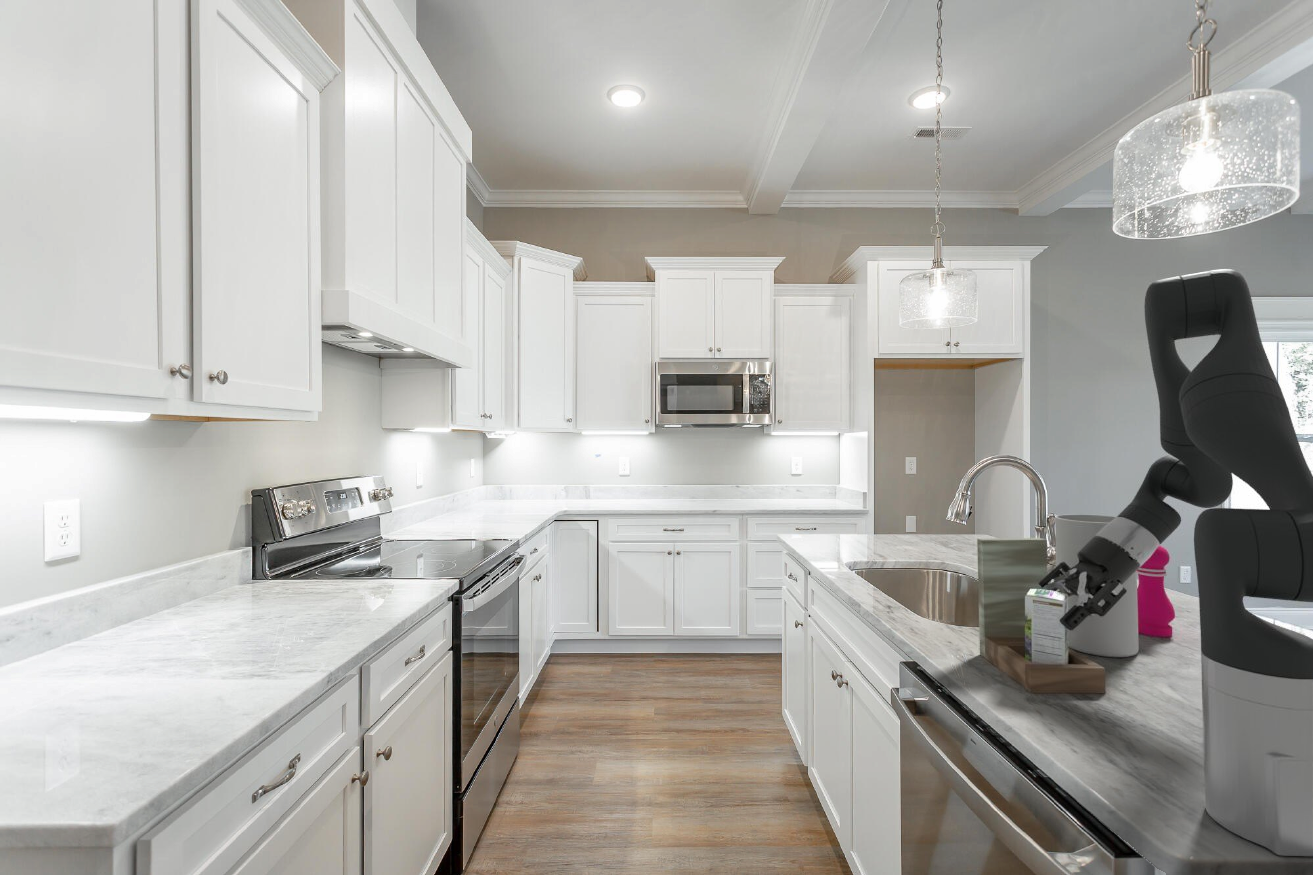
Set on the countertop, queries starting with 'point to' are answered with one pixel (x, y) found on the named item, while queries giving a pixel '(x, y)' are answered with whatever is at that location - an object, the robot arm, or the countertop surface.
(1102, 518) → the cylinder vase
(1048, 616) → the syrup box
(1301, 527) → the robot arm
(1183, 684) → the countertop surface
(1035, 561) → the wooden tray stand
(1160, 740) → the countertop surface
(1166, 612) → the pepper mill
